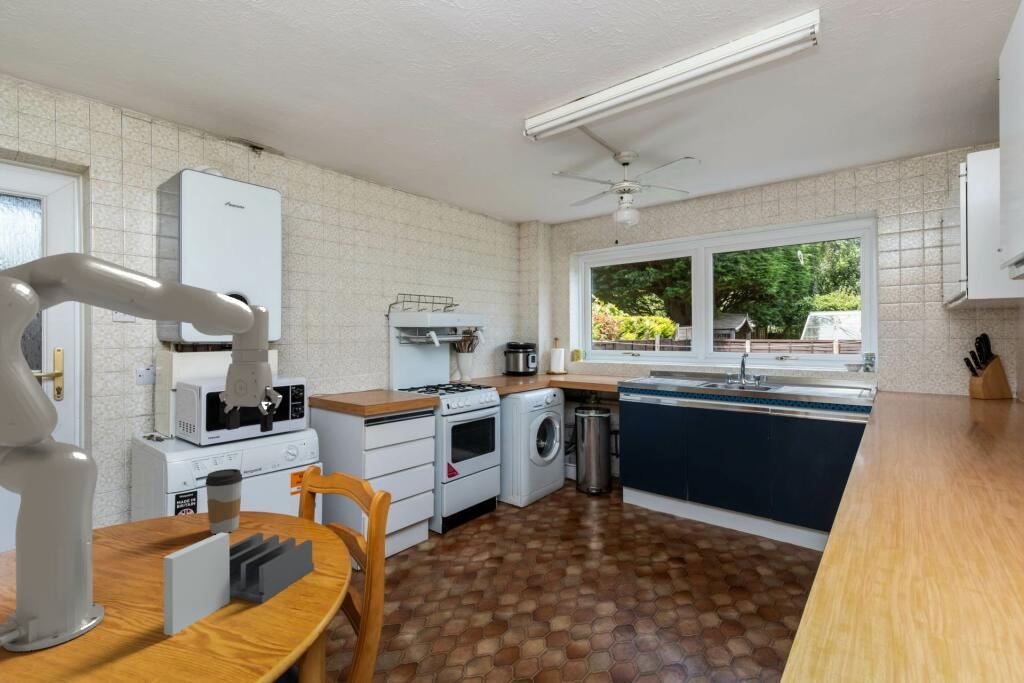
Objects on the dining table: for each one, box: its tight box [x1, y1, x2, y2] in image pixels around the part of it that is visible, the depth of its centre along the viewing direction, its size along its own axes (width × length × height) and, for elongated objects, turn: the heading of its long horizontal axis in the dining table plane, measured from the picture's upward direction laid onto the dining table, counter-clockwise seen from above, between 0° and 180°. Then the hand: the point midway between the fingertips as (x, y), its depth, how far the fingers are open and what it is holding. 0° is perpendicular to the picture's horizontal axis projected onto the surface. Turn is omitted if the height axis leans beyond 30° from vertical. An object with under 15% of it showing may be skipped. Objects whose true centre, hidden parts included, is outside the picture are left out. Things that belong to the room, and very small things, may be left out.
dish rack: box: [229, 532, 315, 604], centre depth 99 cm, size 14×14×6 cm
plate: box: [163, 532, 231, 636], centre depth 86 cm, size 11×2×13 cm, turn 162°
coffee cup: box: [205, 468, 244, 535], centre depth 126 cm, size 8×8×15 cm
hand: (249, 430), depth 114 cm, fingers open, 9 cm apart
